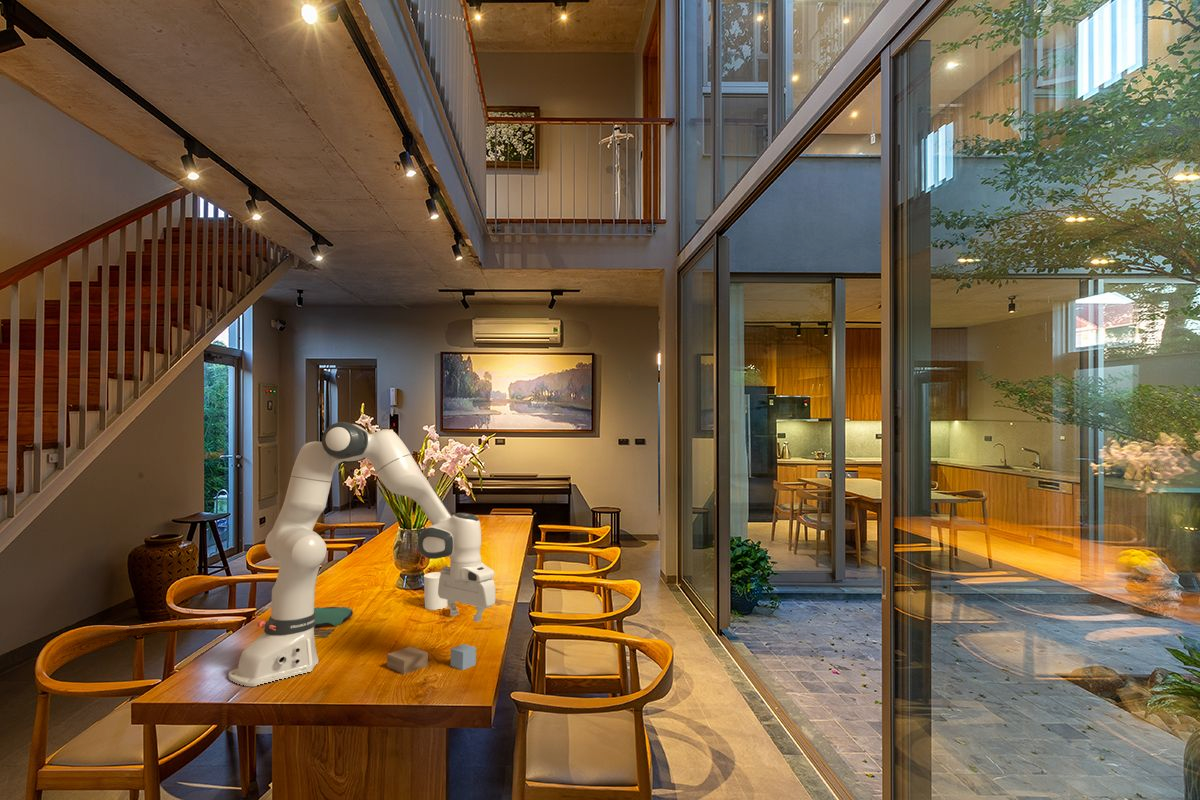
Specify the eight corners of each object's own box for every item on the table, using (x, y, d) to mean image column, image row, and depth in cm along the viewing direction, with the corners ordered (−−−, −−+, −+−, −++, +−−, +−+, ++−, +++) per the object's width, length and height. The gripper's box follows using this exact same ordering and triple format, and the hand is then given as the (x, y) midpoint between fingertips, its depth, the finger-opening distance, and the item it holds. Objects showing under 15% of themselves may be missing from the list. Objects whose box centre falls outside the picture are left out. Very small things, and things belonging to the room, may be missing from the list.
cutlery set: (359, 611, 230) (359, 605, 230) (333, 640, 200) (333, 633, 200) (303, 612, 228) (303, 606, 228) (268, 642, 198) (268, 635, 198)
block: (462, 670, 175) (463, 652, 176) (450, 666, 178) (450, 648, 178) (475, 665, 180) (476, 647, 180) (463, 661, 182) (464, 643, 183)
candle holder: (418, 606, 236) (419, 574, 237) (442, 601, 243) (442, 570, 243) (430, 612, 229) (431, 579, 229) (454, 607, 235) (455, 575, 236)
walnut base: (403, 675, 172) (404, 660, 172) (386, 668, 177) (387, 654, 177) (427, 666, 178) (428, 652, 178) (410, 660, 183) (411, 646, 183)
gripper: (433, 567, 184) (432, 614, 183) (483, 577, 172) (483, 627, 172) (449, 563, 189) (449, 609, 188) (499, 572, 177) (499, 621, 177)
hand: (465, 618), depth 180 cm, fingers open, 8 cm apart
